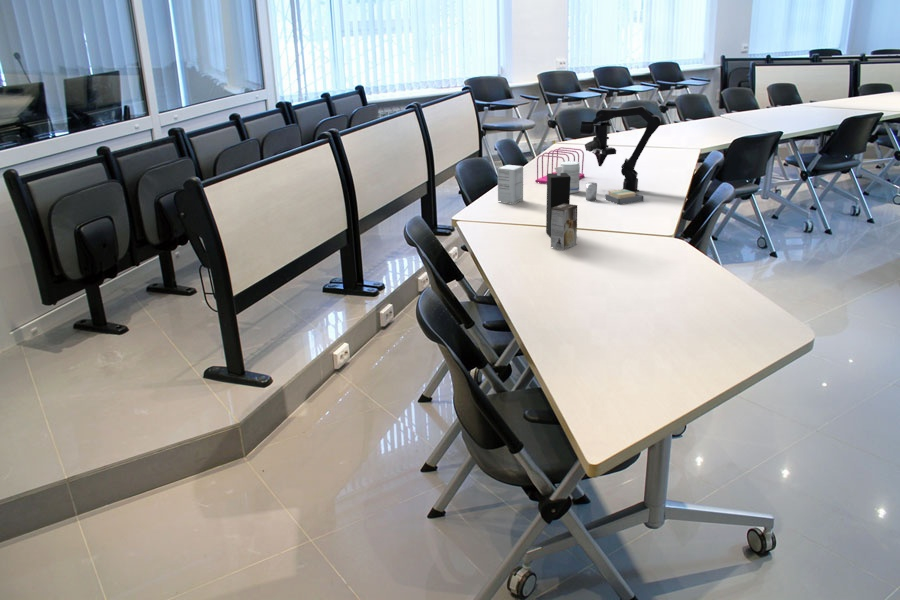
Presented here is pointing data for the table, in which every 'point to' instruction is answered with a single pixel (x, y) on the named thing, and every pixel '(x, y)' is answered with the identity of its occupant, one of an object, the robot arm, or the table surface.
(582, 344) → the table surface
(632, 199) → the gray u-shaped frame
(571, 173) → the supplement tub
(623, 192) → the carton
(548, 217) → the tall black pillar
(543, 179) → the file sorter
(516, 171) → the supplement box
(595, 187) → the grey rounded block
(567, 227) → the coffee box
